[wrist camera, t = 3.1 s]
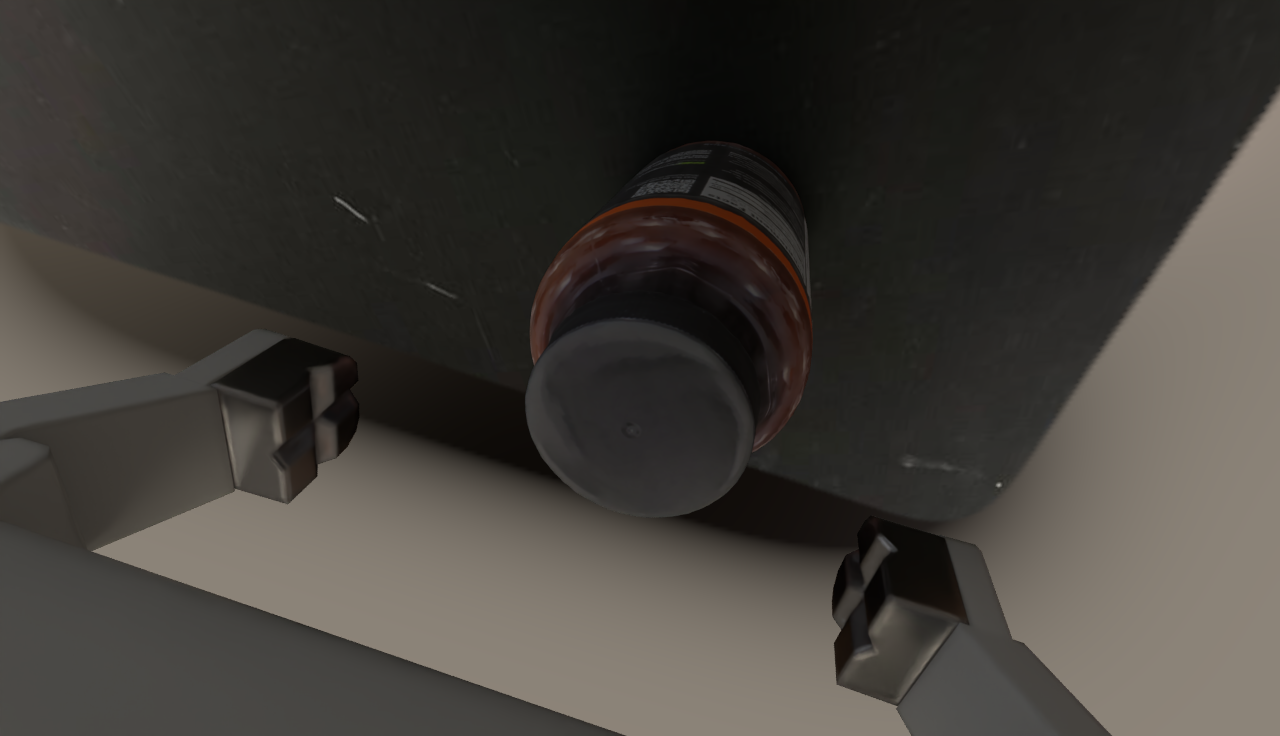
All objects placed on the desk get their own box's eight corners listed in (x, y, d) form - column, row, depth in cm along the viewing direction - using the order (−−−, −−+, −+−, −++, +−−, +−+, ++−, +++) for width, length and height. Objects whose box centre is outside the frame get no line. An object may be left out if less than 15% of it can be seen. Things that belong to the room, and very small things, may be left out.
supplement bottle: (693, 348, 22) (608, 601, 13) (586, 211, 21) (397, 381, 11) (847, 256, 20) (887, 490, 10) (737, 91, 18) (659, 178, 8)
